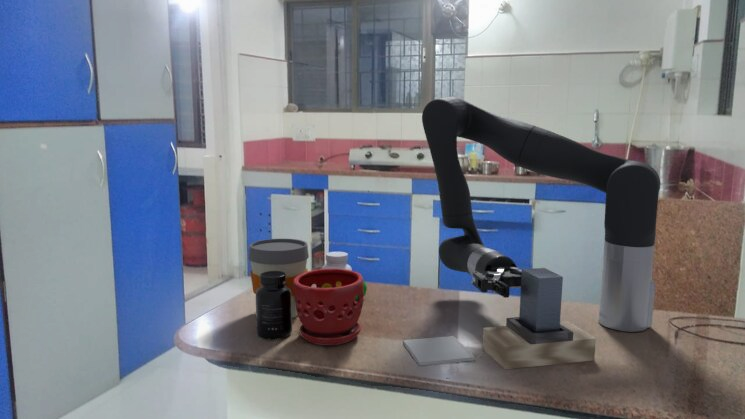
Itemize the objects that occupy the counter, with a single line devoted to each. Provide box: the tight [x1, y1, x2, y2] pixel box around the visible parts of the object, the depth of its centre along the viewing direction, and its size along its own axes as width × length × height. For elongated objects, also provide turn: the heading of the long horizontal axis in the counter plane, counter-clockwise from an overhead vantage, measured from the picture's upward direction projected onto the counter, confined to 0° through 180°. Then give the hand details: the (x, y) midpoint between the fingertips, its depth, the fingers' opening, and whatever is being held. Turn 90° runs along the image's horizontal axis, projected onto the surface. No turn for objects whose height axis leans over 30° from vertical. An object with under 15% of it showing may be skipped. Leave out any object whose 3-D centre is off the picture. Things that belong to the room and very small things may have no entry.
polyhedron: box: [355, 280, 368, 301], centre depth 133 cm, size 5×5×5 cm
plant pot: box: [293, 268, 364, 346], centre depth 109 cm, size 13×13×12 cm
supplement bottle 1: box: [255, 271, 293, 341], centre depth 110 cm, size 7×7×12 cm
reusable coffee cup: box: [248, 238, 310, 319], centre depth 122 cm, size 13×13×15 cm
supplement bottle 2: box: [321, 251, 353, 288], centre depth 123 cm, size 7×7×13 cm
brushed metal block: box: [518, 267, 564, 333], centre depth 101 cm, size 4×6×11 cm
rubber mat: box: [402, 335, 476, 366], centre depth 104 cm, size 10×10×1 cm
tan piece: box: [482, 316, 597, 370], centre depth 102 cm, size 17×9×6 cm, turn 104°
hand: (529, 291), depth 105 cm, fingers open, 8 cm apart
